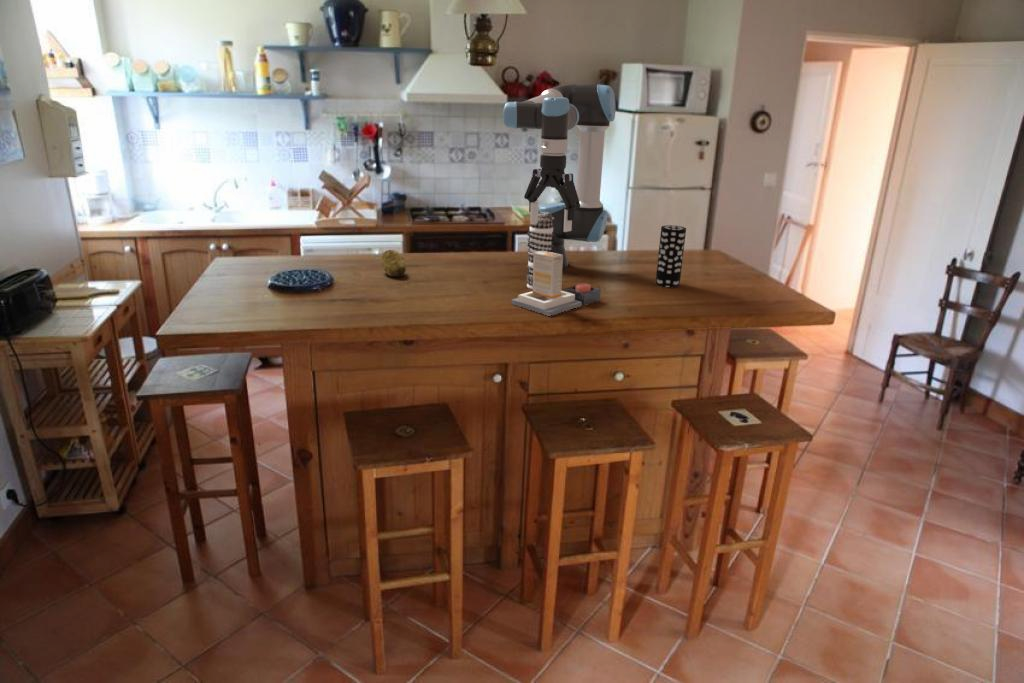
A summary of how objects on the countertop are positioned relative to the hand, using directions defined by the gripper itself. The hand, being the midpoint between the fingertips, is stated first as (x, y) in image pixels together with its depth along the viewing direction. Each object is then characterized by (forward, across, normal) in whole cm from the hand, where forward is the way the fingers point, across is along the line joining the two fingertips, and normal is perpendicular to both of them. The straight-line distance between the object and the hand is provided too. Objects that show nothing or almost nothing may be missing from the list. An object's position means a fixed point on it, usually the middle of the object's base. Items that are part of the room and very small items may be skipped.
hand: (550, 227), depth 202 cm
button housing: (+24, +4, +12) cm, 28 cm away
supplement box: (+21, 0, 0) cm, 21 cm away
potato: (+25, -60, -16) cm, 66 cm away
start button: (+23, +4, +12) cm, 26 cm away
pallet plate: (+24, 0, 0) cm, 24 cm away
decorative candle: (+25, -16, +13) cm, 32 cm away
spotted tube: (+25, +11, +50) cm, 57 cm away
